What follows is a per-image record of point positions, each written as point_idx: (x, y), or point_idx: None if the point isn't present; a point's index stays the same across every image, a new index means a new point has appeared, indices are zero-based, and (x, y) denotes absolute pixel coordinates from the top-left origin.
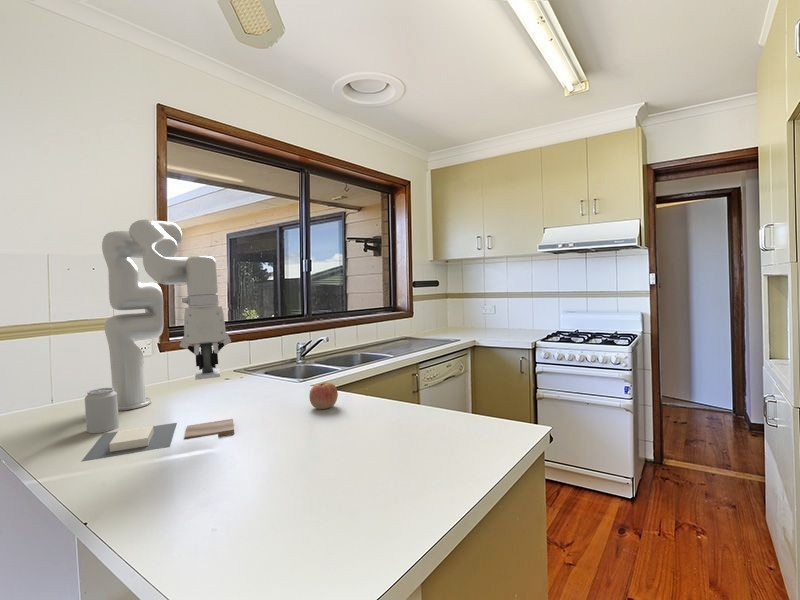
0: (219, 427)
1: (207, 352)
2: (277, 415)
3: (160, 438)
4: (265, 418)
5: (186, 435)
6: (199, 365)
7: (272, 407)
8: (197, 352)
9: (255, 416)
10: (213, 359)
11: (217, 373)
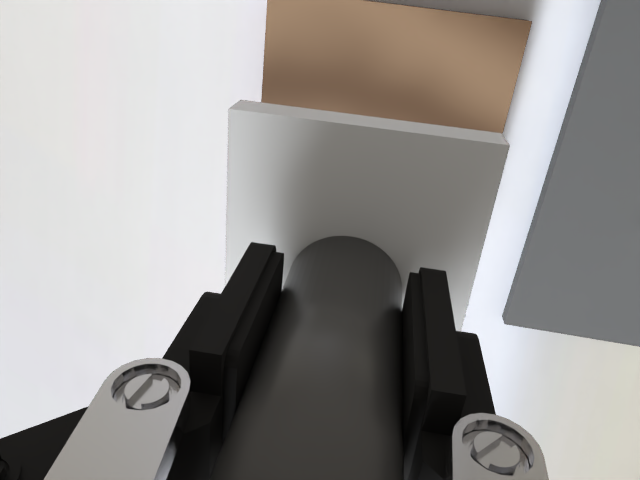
0: (336, 80)
1: (301, 404)
2: (51, 161)
3: (633, 119)
4: (109, 151)
5: (515, 51)
6: (442, 293)
7: (73, 298)
8: (478, 460)
9: (154, 215)
10: (243, 300)
11: (254, 120)
